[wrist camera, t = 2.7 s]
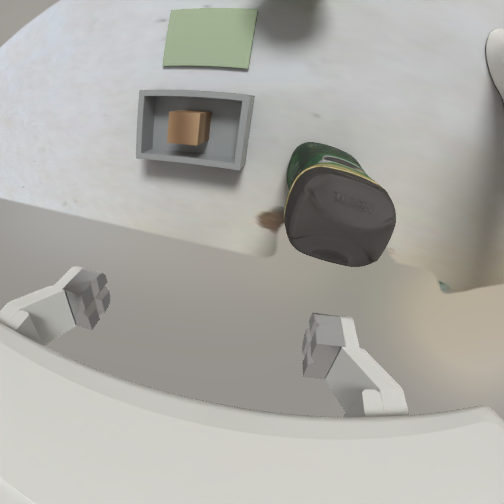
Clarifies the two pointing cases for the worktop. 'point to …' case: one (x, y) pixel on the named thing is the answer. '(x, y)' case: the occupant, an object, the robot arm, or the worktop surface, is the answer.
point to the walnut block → (189, 127)
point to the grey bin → (221, 128)
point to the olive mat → (210, 37)
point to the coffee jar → (336, 207)
